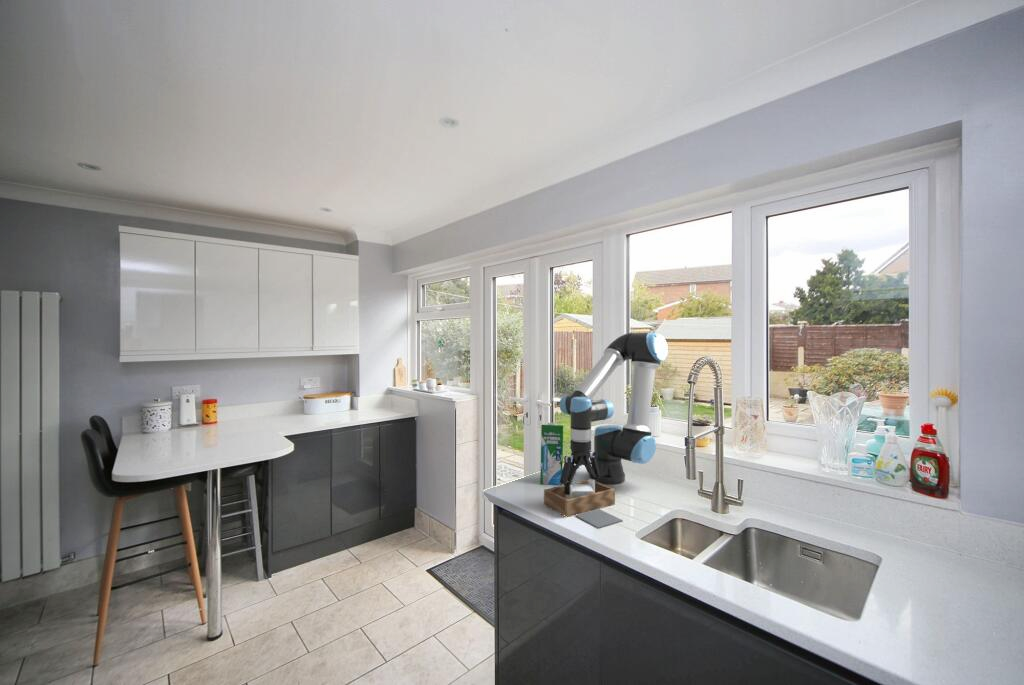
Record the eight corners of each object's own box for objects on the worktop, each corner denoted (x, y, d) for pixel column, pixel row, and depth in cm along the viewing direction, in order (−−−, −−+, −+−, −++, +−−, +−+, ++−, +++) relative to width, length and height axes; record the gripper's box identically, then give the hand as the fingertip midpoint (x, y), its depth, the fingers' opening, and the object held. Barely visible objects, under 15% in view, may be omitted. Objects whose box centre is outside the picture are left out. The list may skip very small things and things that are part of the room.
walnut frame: (590, 493, 168) (590, 479, 168) (614, 504, 157) (615, 489, 157) (543, 504, 156) (543, 489, 156) (566, 517, 145) (567, 501, 145)
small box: (594, 505, 153) (594, 491, 153) (572, 505, 153) (572, 491, 153) (589, 497, 161) (589, 483, 161) (568, 497, 160) (568, 483, 160)
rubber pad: (599, 510, 152) (599, 508, 152) (622, 521, 142) (622, 520, 142) (575, 516, 146) (575, 515, 146) (598, 528, 136) (598, 527, 136)
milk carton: (561, 478, 186) (562, 421, 186) (562, 485, 177) (563, 425, 177) (541, 477, 187) (542, 420, 187) (540, 484, 178) (541, 424, 178)
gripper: (596, 433, 166) (596, 490, 166) (549, 441, 153) (549, 502, 154) (610, 437, 160) (610, 496, 160) (563, 446, 147) (563, 510, 148)
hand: (580, 499), depth 157 cm, fingers closed on small box, 10 cm apart
